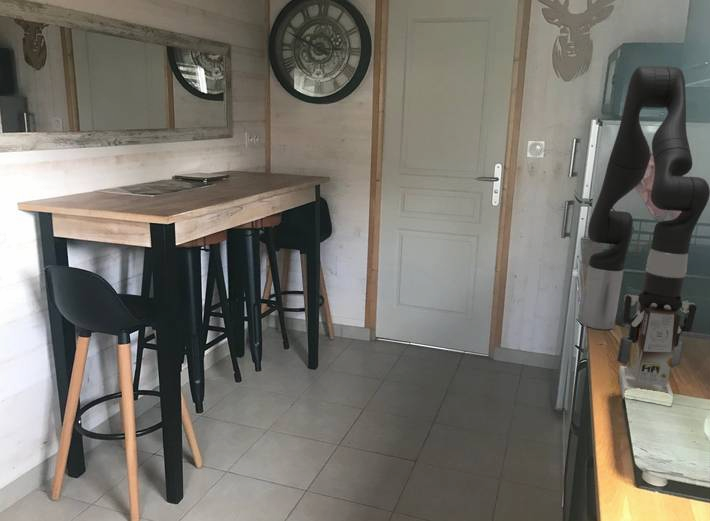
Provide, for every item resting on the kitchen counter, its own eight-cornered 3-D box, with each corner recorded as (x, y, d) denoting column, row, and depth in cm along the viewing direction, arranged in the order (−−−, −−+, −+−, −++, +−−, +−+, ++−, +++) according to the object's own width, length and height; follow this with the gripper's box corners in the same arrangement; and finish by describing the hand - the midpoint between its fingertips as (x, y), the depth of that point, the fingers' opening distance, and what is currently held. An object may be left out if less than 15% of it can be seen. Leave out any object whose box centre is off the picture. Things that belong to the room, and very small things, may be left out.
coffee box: (668, 386, 129) (682, 315, 125) (637, 383, 129) (650, 312, 125) (654, 368, 137) (667, 301, 133) (625, 365, 138) (636, 298, 134)
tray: (618, 375, 141) (620, 365, 141) (663, 383, 138) (665, 373, 138) (622, 398, 130) (624, 387, 129) (671, 407, 127) (673, 396, 126)
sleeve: (617, 361, 150) (621, 338, 148) (641, 350, 158) (645, 328, 156) (656, 375, 143) (660, 351, 141) (679, 363, 150) (683, 340, 149)
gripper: (700, 271, 129) (685, 344, 133) (627, 263, 133) (615, 333, 137) (707, 280, 122) (691, 356, 126) (629, 270, 126) (617, 344, 130)
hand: (651, 344), depth 132 cm, fingers closed on coffee box, 7 cm apart
